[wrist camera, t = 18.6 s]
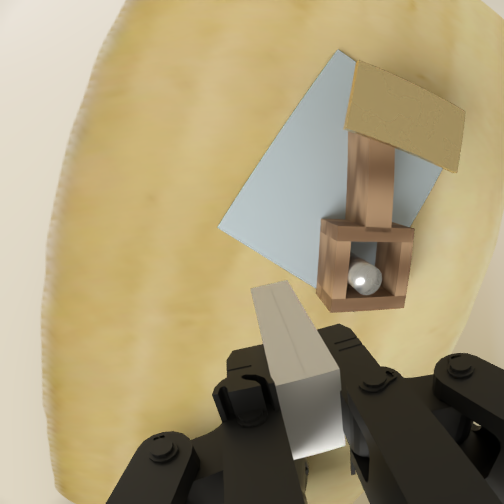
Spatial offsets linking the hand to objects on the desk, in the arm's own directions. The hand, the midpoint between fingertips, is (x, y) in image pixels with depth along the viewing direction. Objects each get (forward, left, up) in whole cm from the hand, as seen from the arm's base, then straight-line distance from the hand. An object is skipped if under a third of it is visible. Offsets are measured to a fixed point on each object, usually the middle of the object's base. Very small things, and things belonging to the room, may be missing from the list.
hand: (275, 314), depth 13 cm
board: (+12, -8, -24) cm, 28 cm away
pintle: (+3, -12, -24) cm, 27 cm away
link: (+9, -10, -24) cm, 27 cm away
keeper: (+19, -6, -24) cm, 31 cm away
